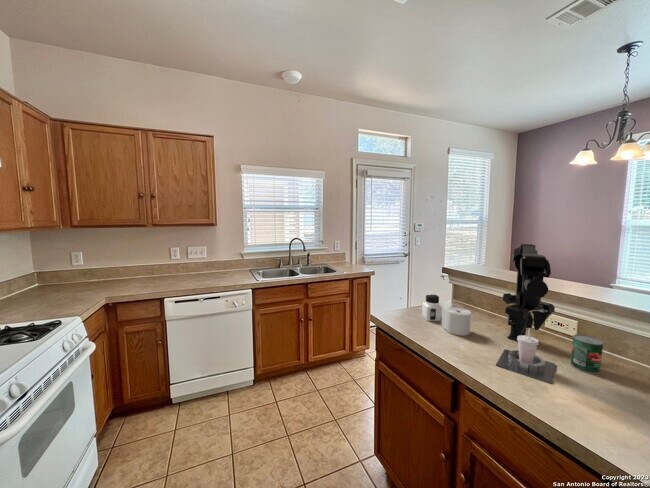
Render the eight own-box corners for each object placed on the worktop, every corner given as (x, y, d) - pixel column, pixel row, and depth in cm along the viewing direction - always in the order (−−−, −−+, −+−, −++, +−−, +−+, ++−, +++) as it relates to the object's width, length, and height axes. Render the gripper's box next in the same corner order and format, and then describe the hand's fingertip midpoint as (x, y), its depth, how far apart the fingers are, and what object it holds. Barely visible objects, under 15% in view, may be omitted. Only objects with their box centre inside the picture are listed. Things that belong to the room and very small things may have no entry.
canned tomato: (571, 359, 104) (573, 332, 103) (600, 368, 99) (603, 339, 98) (569, 367, 99) (572, 339, 98) (600, 376, 93) (603, 346, 92)
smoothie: (520, 367, 98) (523, 330, 97) (512, 358, 104) (514, 323, 103) (540, 369, 97) (543, 331, 95) (530, 360, 103) (533, 324, 101)
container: (441, 321, 142) (442, 297, 141) (426, 321, 142) (427, 297, 141) (435, 315, 150) (436, 293, 149) (421, 315, 150) (422, 292, 149)
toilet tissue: (471, 337, 123) (473, 316, 122) (443, 333, 127) (444, 313, 126) (467, 328, 133) (468, 308, 132) (441, 325, 137) (442, 306, 136)
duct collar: (504, 350, 112) (505, 343, 111) (555, 364, 101) (556, 357, 100) (495, 365, 100) (496, 357, 100) (551, 384, 89) (552, 375, 89)
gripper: (525, 282, 108) (522, 320, 110) (492, 287, 102) (489, 327, 103) (557, 289, 98) (553, 331, 100) (523, 295, 91) (519, 339, 93)
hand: (528, 331), depth 99 cm, fingers open, 9 cm apart
